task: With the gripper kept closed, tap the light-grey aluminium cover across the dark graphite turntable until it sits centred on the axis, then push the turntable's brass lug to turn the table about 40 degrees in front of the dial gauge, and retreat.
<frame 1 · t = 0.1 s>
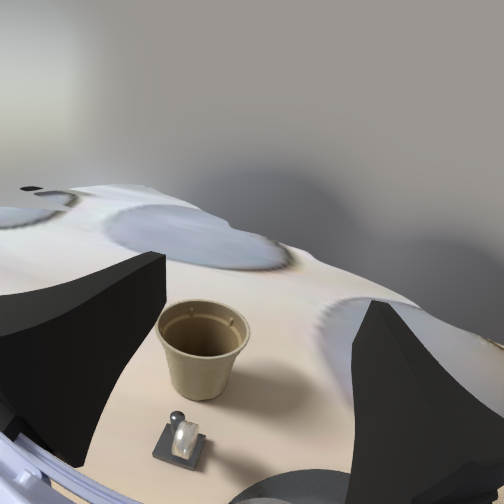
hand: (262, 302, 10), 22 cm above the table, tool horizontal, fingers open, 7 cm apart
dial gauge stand: (179, 448, 23), on the table
flower pot: (199, 382, 32), on the table
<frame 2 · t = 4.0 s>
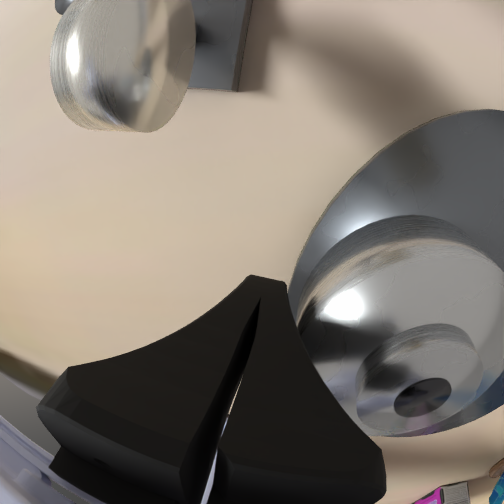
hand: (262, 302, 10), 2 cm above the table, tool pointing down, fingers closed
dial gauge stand: (190, 37, 8), on the table
cover: (399, 315, 10), point 1 cm above the table, touching gripper
candy bar box: (432, 496, 22), on the table
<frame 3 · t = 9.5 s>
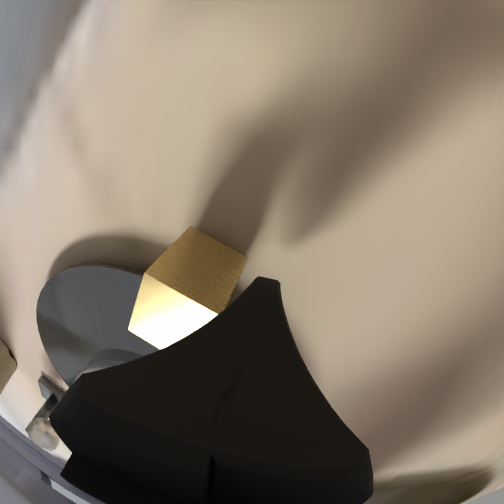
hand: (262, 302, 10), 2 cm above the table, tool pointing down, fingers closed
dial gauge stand: (57, 394, 23), on the table
turntable: (141, 401, 14), point 2 cm above the table, hinge at 1.1°, touching cover, gripper
flower pot: (1, 345, 23), on the table
cover: (145, 395, 16), point 1 cm above the table, touching turntable
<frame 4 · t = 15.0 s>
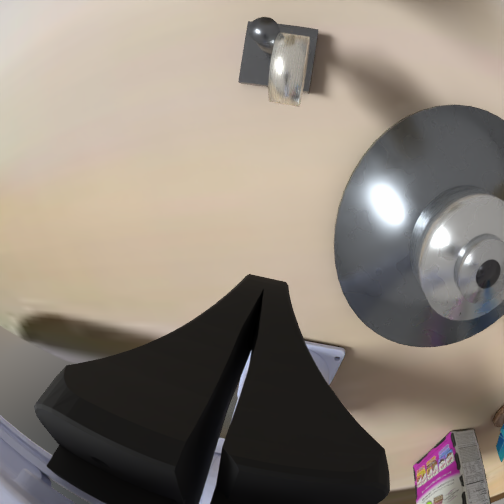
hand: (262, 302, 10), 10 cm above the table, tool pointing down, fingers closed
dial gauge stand: (279, 57, 14), on the table
turntable: (485, 242, 14), point 2 cm above the table, hinge at 44.3°, touching cover
cover: (461, 244, 16), point 1 cm above the table, touching turntable
candy bar box: (443, 447, 28), on the table
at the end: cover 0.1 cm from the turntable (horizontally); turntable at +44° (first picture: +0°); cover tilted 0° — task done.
